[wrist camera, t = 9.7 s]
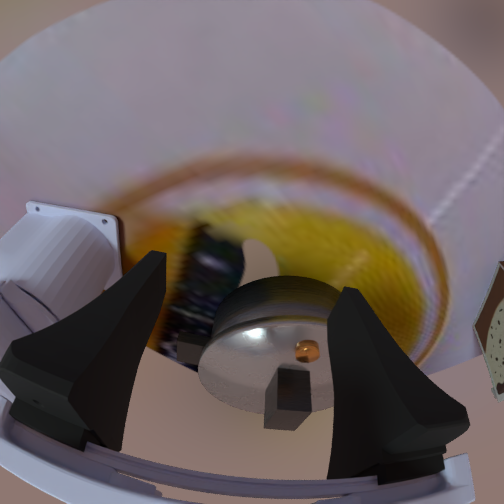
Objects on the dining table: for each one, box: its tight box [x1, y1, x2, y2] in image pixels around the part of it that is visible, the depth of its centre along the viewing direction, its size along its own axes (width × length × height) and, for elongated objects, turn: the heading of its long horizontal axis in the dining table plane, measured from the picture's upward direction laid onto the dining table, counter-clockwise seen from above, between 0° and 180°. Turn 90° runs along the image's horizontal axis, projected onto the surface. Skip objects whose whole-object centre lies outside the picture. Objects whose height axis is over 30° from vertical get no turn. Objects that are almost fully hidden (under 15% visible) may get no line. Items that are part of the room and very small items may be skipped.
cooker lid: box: [198, 315, 334, 431], centre depth 22 cm, size 14×14×4 cm
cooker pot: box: [177, 276, 341, 365], centre depth 26 cm, size 18×13×5 cm
